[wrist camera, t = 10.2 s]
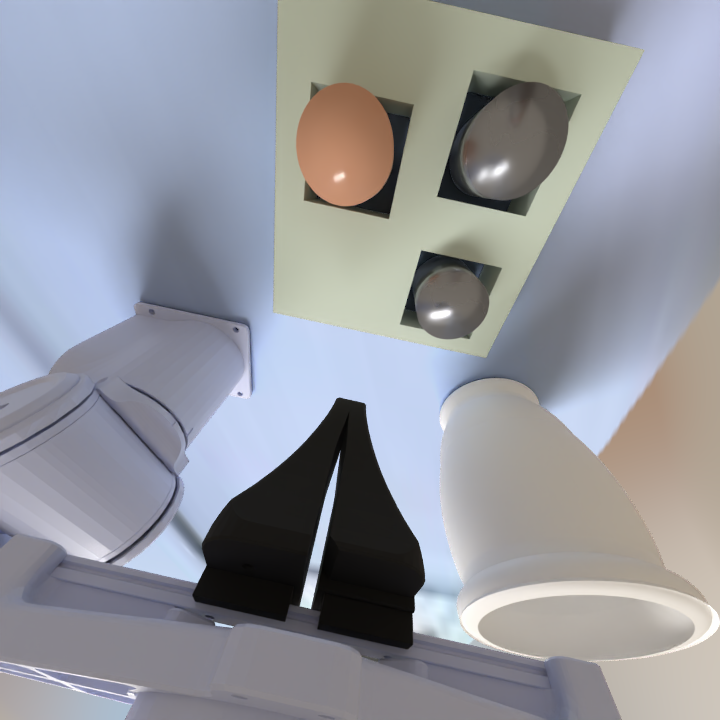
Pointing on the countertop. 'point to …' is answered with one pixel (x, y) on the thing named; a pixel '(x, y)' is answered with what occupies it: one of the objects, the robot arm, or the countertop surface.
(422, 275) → the grey plug
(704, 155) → the countertop surface
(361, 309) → the socket board
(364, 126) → the terracotta plug
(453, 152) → the grey plug
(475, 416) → the jar
